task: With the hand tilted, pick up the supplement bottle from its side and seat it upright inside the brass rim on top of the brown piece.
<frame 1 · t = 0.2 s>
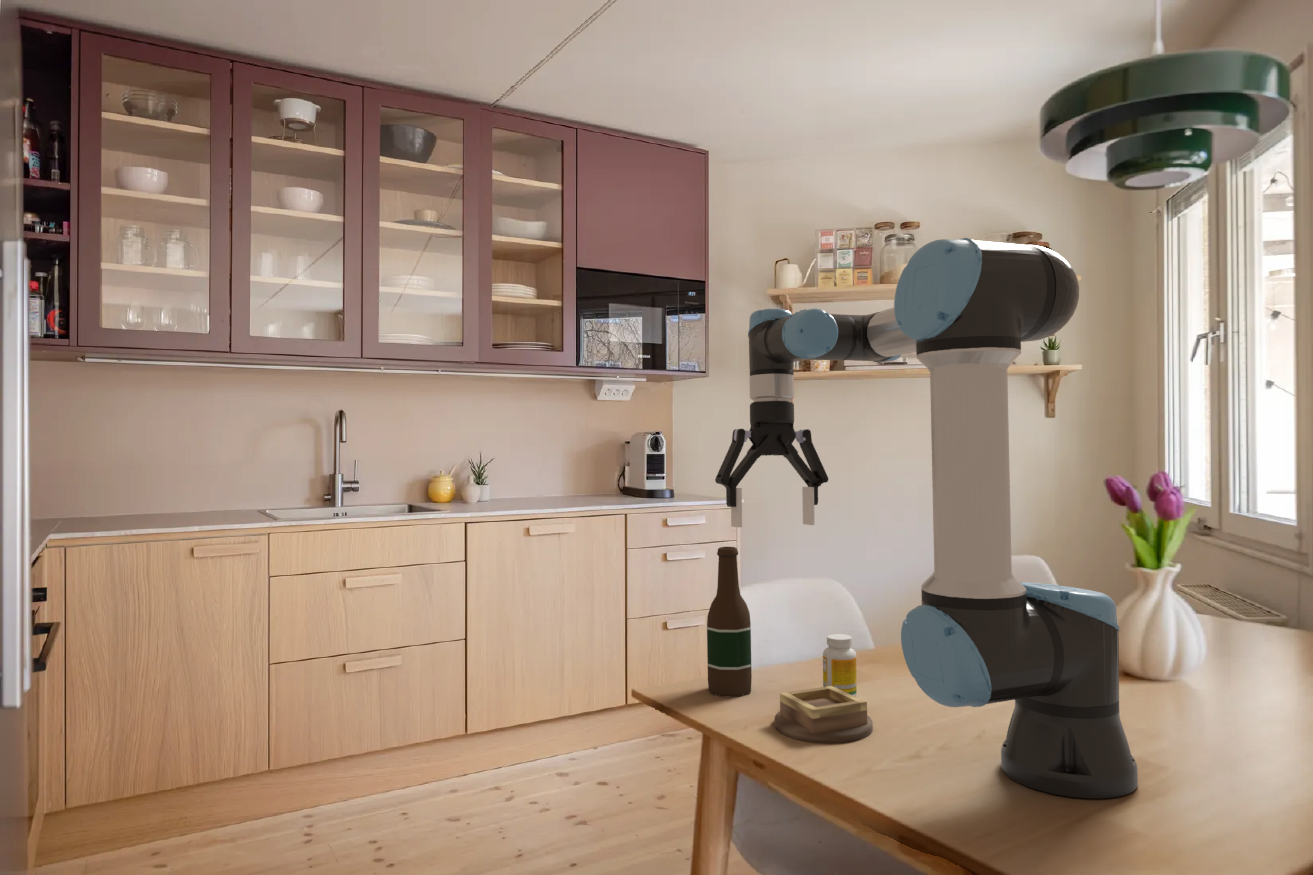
hand: (773, 525, 147), 27 cm above the table, tool pointing down, fingers open, 13 cm apart
supplement bottle: (840, 696, 141), on the table
beer bottle: (730, 691, 144), on the table
brown piece: (823, 726, 126), on the table
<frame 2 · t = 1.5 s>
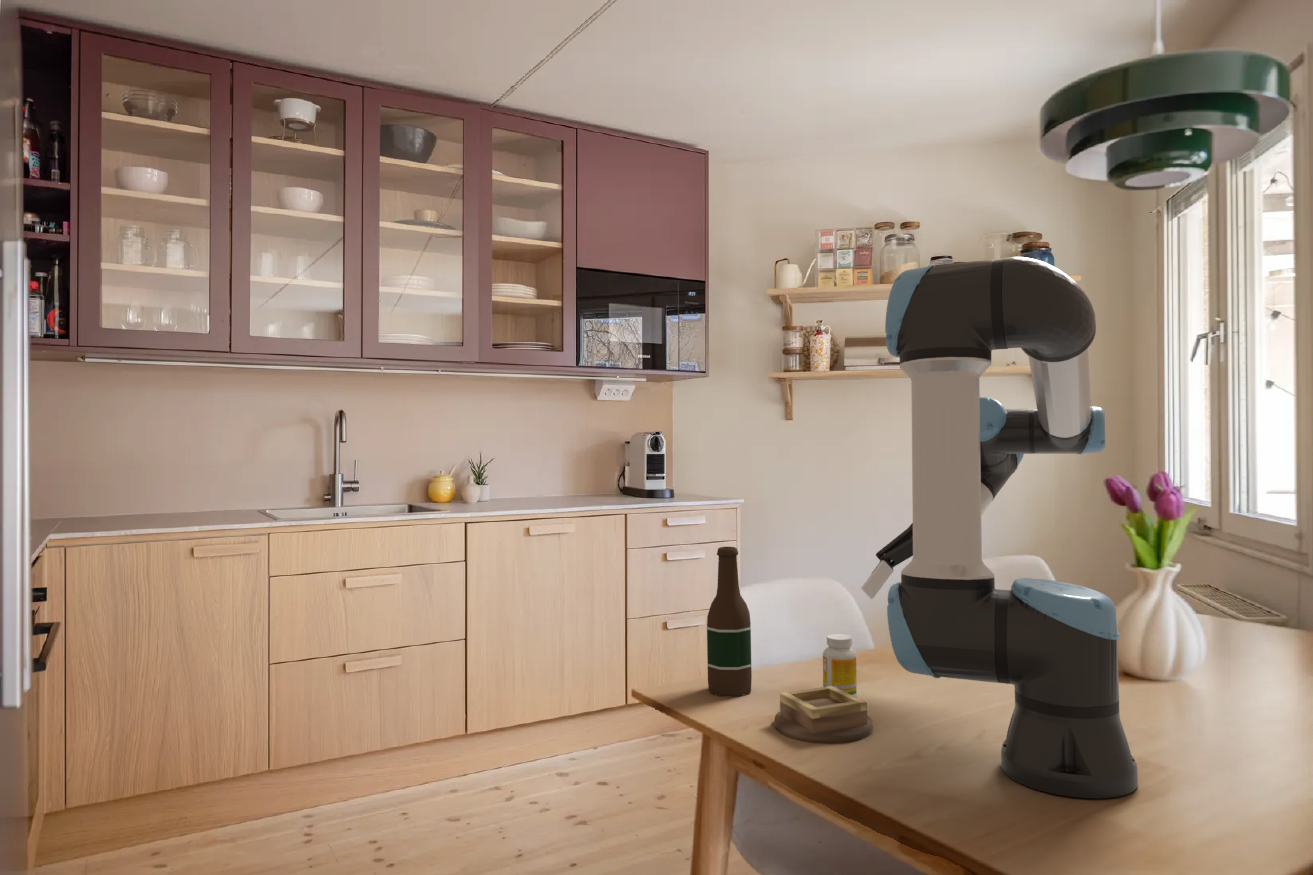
hand: (890, 600, 145), 15 cm above the table, tool tilted 45°, fingers open, 13 cm apart
nothing on the table moved.
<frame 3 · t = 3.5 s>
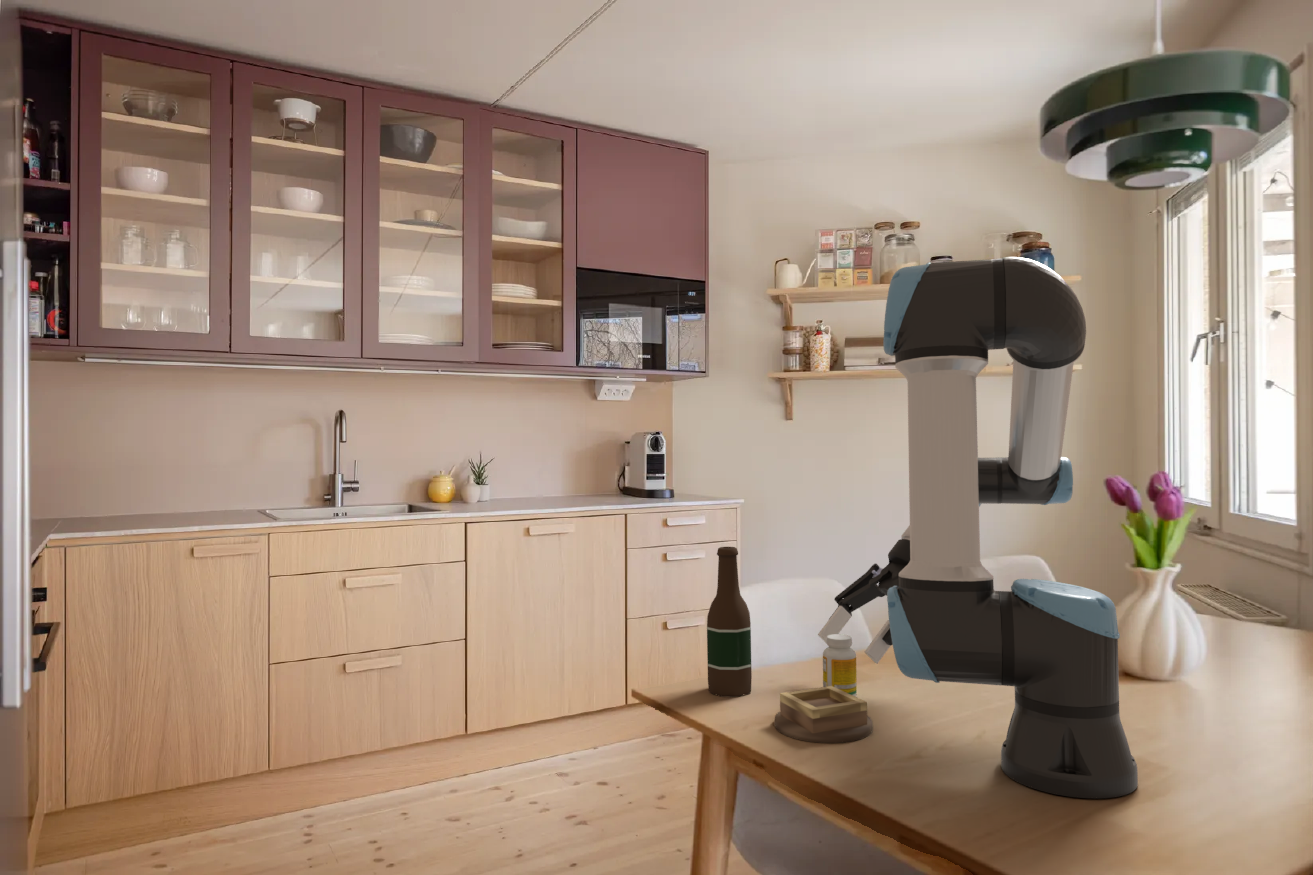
hand: (846, 648, 142), 7 cm above the table, tool tilted 45°, fingers open, 13 cm apart
nothing on the table moved.
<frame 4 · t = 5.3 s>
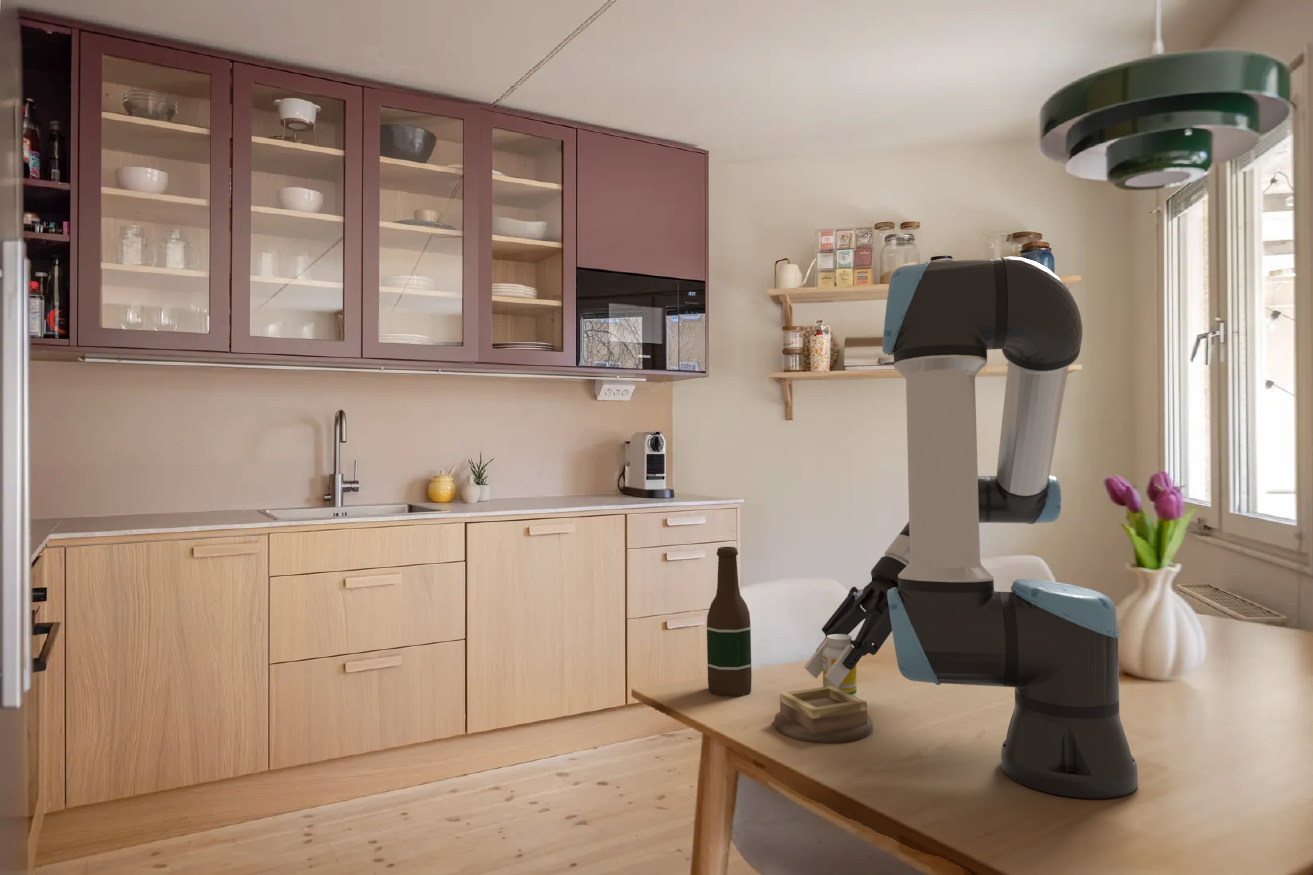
hand: (820, 677, 139), 3 cm above the table, tool tilted 45°, fingers closed on supplement bottle, 5 cm apart
supplement bottle: (840, 696, 141), on the table, touching gripper
everything else where it was.
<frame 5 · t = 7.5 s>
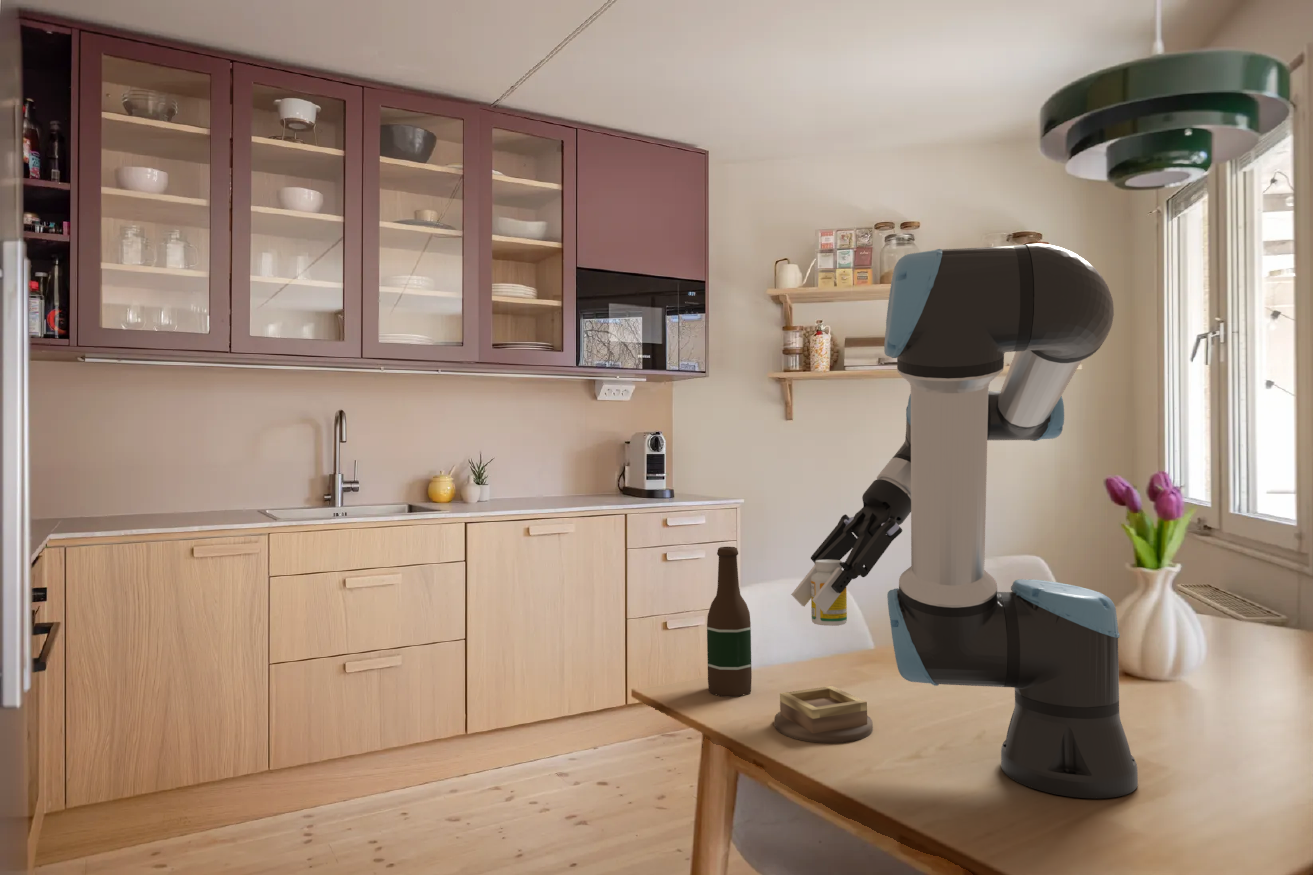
hand: (808, 603, 132), 17 cm above the table, tool tilted 45°, fingers closed on supplement bottle, 5 cm apart
supplement bottle: (829, 624, 133), point 13 cm above the table, touching gripper
everything else where it was.
when the fingers open (7 cm above the table, at t = 10.0 s): supplement bottle stays where it is, resting on brown piece.
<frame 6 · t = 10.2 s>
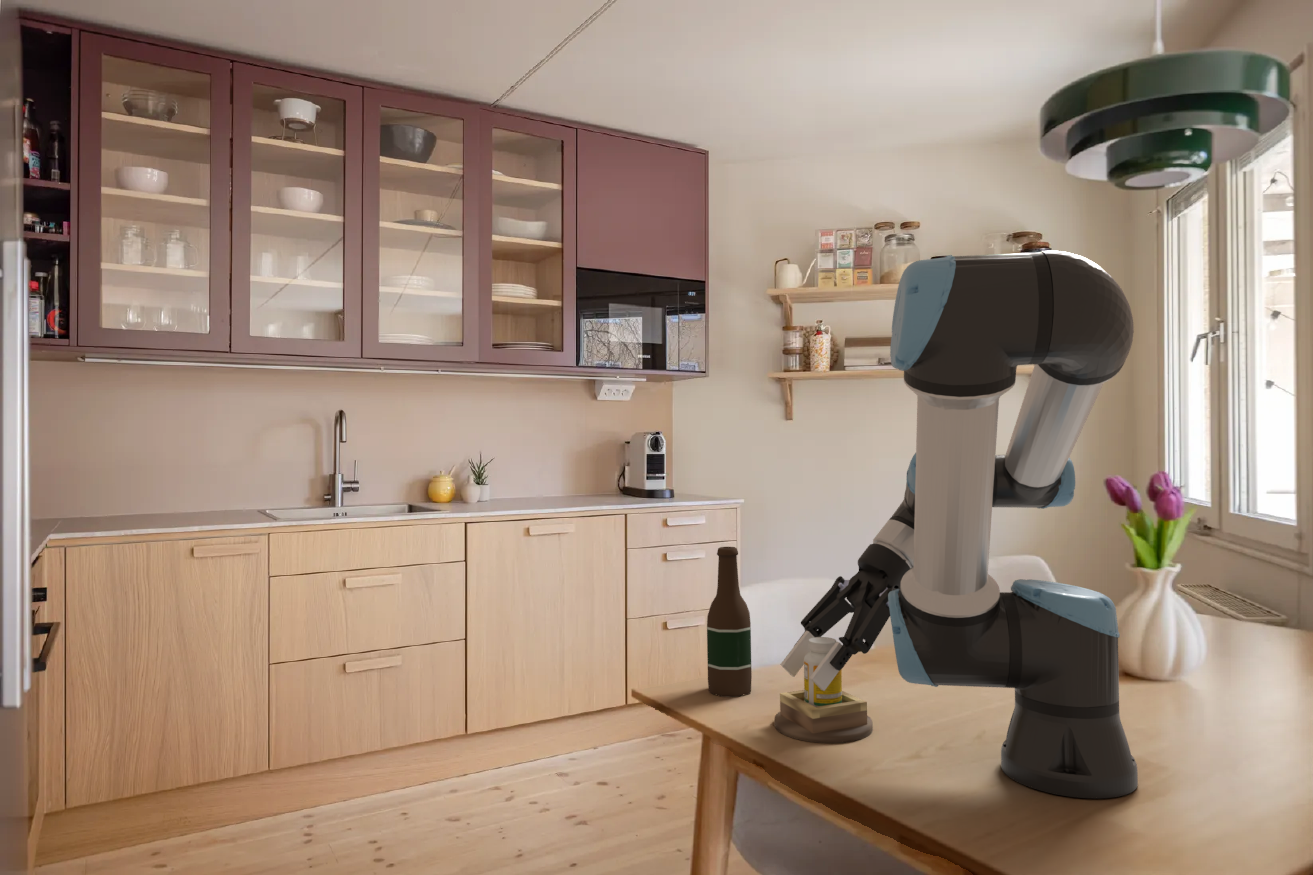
hand: (801, 677, 124), 8 cm above the table, tool tilted 45°, fingers open, 7 cm apart
supplement bottle: (823, 707, 125), point 3 cm above the table, touching brown piece
everything else where it was.
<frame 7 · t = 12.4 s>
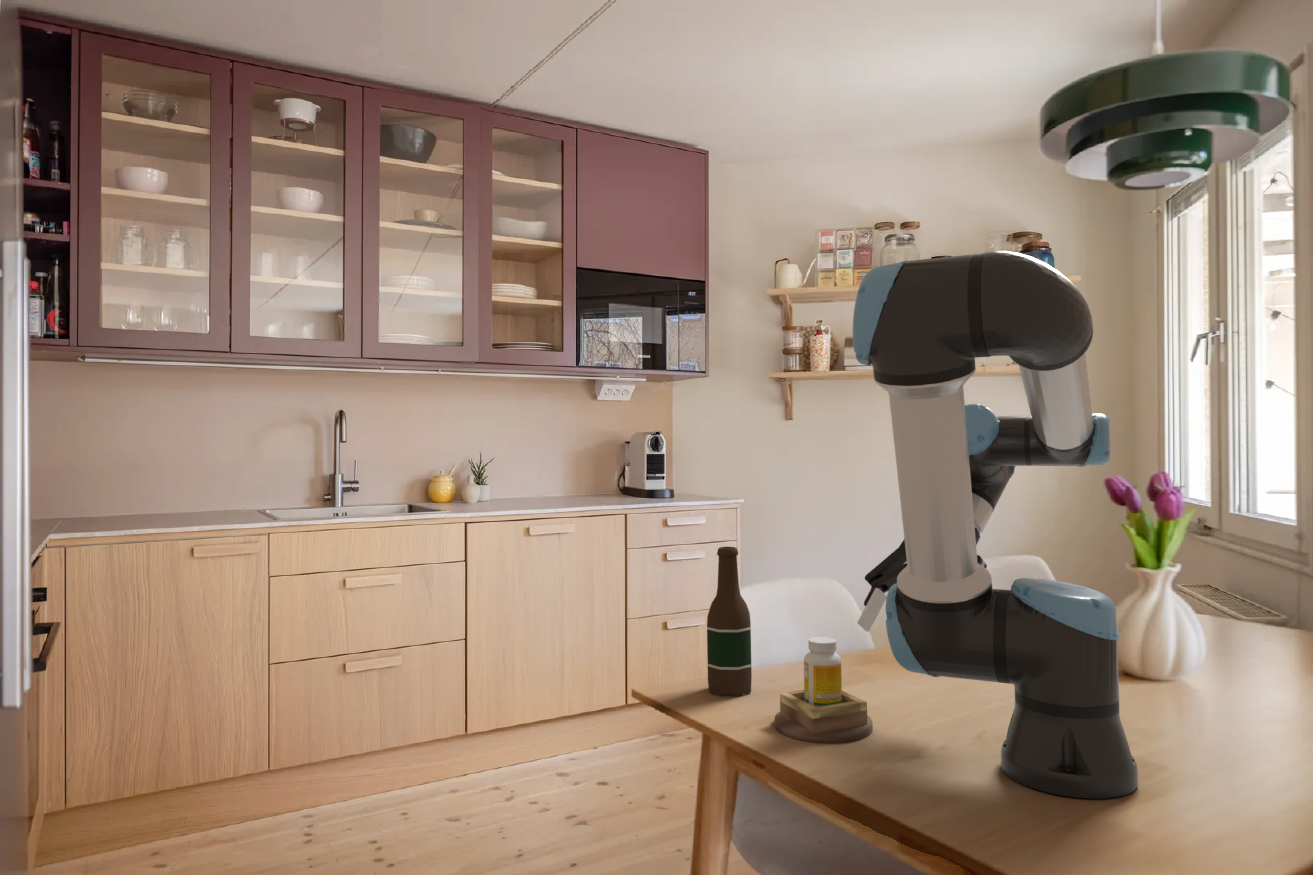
hand: (898, 641, 130), 11 cm above the table, tool tilted 35°, fingers open, 13 cm apart
nothing on the table moved.
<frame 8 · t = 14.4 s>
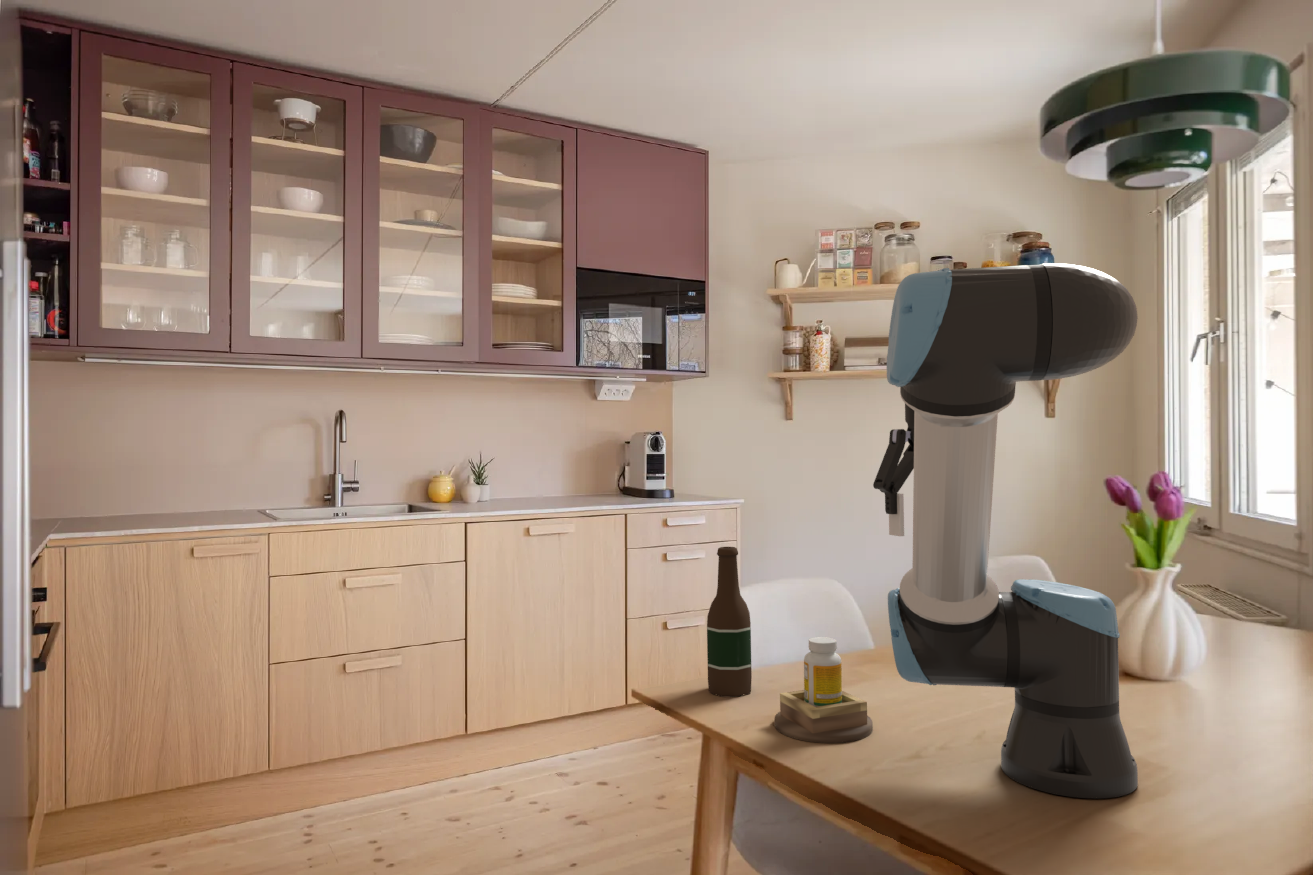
hand: (932, 533, 136), 27 cm above the table, tool pointing down, fingers open, 13 cm apart
nothing on the table moved.
at the end: supplement bottle 0.1 cm off-centre on the brown piece, point 2.8 cm above the brown piece's base; supplement bottle tilted 0°; the gripper is holding nothing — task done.
